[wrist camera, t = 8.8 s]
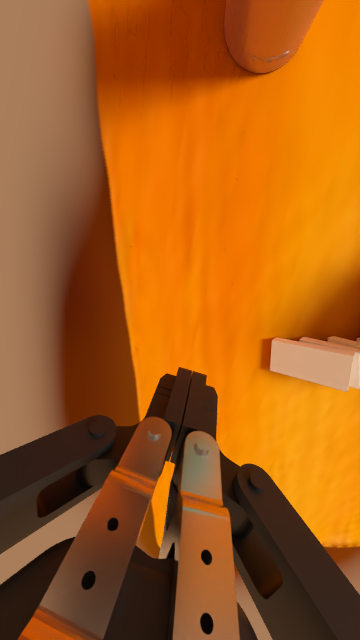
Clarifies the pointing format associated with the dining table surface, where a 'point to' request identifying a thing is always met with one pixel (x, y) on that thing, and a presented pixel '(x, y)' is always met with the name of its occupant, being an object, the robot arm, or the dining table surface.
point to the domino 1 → (312, 362)
